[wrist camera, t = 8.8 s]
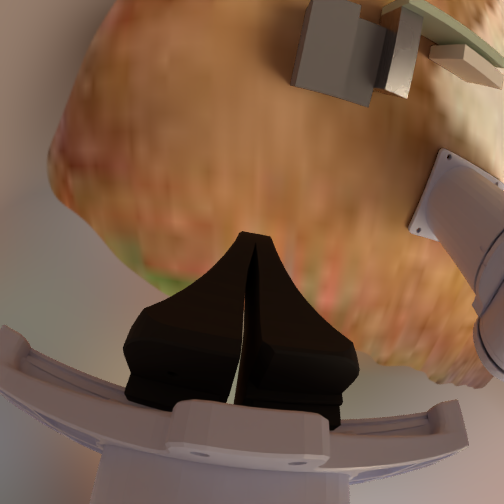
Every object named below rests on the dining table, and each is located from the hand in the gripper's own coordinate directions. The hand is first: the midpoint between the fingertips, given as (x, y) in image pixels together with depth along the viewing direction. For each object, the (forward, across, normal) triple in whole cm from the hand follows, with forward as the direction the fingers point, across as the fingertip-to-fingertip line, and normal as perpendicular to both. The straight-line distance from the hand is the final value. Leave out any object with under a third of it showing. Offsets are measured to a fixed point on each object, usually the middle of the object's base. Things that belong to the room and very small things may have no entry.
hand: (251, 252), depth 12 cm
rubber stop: (+10, -3, -10) cm, 14 cm away
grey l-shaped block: (+9, -10, -12) cm, 18 cm away
